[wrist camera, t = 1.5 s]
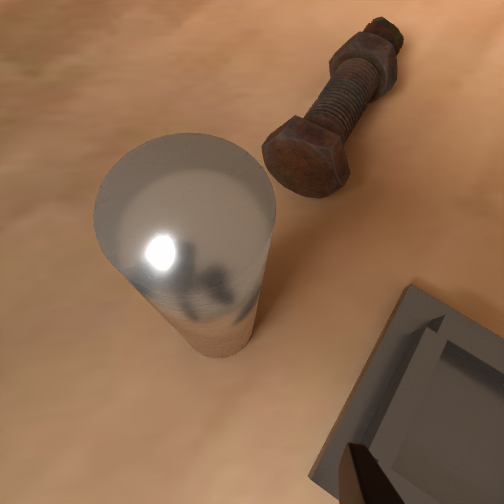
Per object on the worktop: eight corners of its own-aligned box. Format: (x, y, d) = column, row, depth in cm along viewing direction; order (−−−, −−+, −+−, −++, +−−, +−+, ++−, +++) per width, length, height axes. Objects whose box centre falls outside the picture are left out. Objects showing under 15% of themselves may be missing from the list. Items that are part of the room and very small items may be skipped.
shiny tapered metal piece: (205, 372, 20) (141, 330, 7) (173, 311, 21) (65, 177, 8) (266, 334, 21) (310, 234, 8) (231, 278, 22) (220, 109, 9)
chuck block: (538, 646, 16) (583, 685, 14) (307, 475, 18) (316, 486, 16) (600, 404, 20) (644, 405, 18) (405, 287, 22) (422, 276, 20)
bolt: (375, 80, 31) (298, 206, 26) (338, 33, 30) (247, 158, 24) (437, 38, 26) (358, 184, 21) (396, -21, 24) (298, 121, 19)
